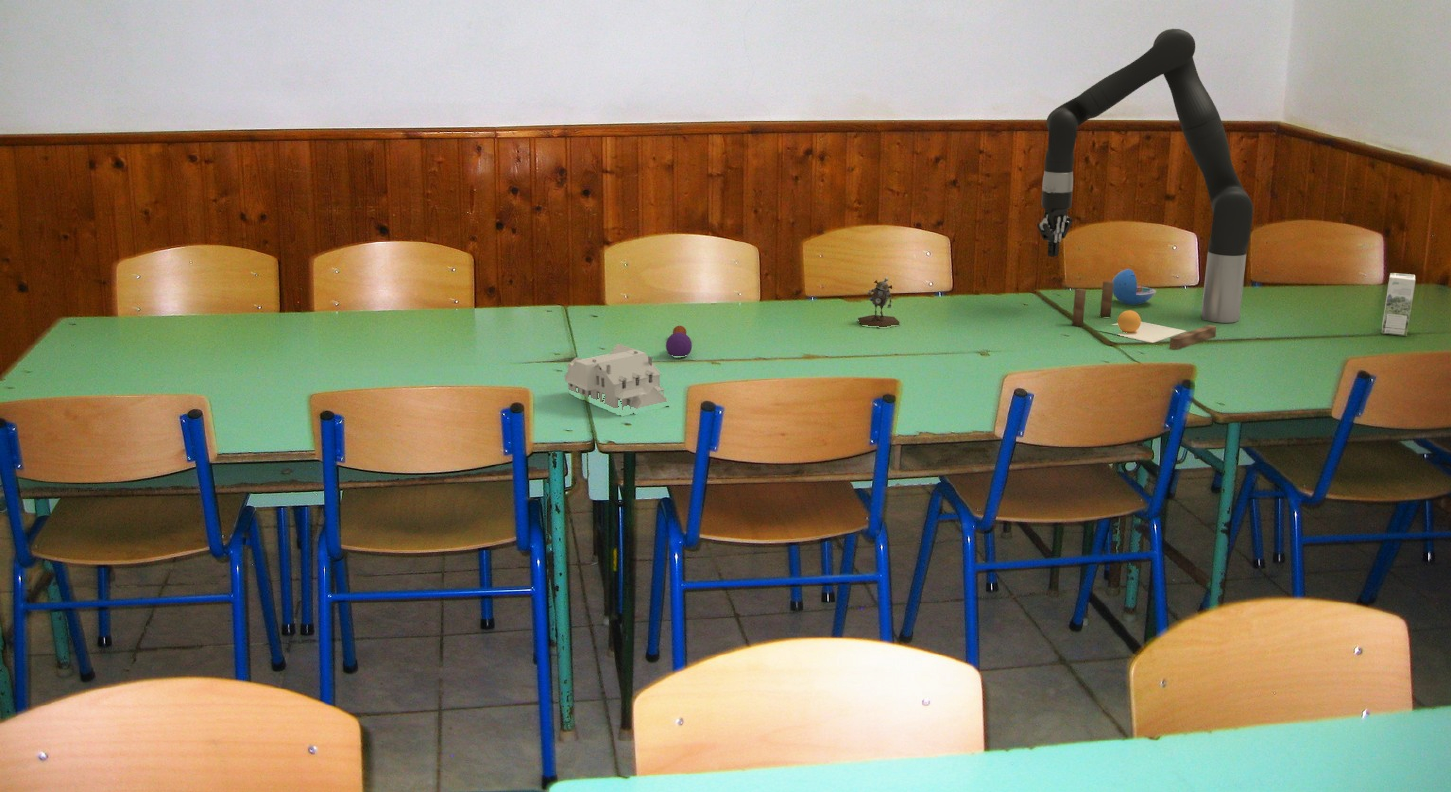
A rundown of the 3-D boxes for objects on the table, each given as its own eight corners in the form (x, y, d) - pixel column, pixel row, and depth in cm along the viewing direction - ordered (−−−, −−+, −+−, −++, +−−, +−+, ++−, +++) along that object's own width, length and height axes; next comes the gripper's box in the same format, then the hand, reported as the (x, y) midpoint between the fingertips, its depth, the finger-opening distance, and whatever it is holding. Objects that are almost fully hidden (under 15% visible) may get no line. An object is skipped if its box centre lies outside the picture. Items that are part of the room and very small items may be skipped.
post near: (1076, 323, 350) (1078, 288, 347) (1084, 325, 348) (1087, 290, 345) (1070, 324, 348) (1072, 289, 345) (1079, 326, 346) (1081, 291, 344)
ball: (1149, 322, 339) (1136, 335, 343) (1138, 304, 341) (1125, 318, 345) (1132, 324, 336) (1120, 338, 340) (1121, 306, 338) (1109, 320, 342)
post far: (1103, 315, 358) (1106, 280, 355) (1112, 316, 356) (1115, 282, 354) (1098, 316, 356) (1101, 282, 354) (1106, 318, 355) (1109, 284, 352)
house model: (614, 421, 275) (613, 373, 272) (559, 397, 290) (558, 352, 287) (690, 403, 286) (689, 357, 283) (633, 381, 301) (633, 337, 298)
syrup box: (1406, 331, 343) (1415, 273, 339) (1406, 336, 338) (1415, 278, 334) (1381, 328, 346) (1389, 271, 341) (1381, 334, 340) (1389, 276, 336)
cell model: (1161, 307, 366) (1165, 272, 363) (1119, 309, 364) (1122, 273, 361) (1144, 299, 376) (1147, 264, 373) (1102, 300, 374) (1105, 265, 371)
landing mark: (1129, 319, 353) (1129, 319, 353) (1187, 331, 342) (1187, 330, 342) (1094, 330, 343) (1094, 329, 343) (1152, 343, 332) (1152, 342, 332)
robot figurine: (851, 325, 347) (852, 278, 344) (862, 317, 355) (863, 271, 352) (894, 330, 343) (896, 282, 340) (904, 321, 351) (906, 275, 348)
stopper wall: (1207, 334, 339) (1208, 324, 339) (1215, 336, 338) (1216, 326, 337) (1169, 348, 328) (1170, 337, 327) (1177, 349, 326) (1178, 339, 325)
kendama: (694, 322, 334) (694, 337, 315) (689, 346, 336) (689, 362, 316) (669, 318, 334) (668, 332, 315) (665, 342, 335) (663, 358, 316)
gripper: (1059, 184, 359) (1055, 250, 364) (1029, 190, 350) (1025, 257, 355) (1084, 187, 353) (1079, 254, 359) (1054, 193, 345) (1050, 262, 350)
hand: (1052, 256), depth 357 cm, fingers closed
